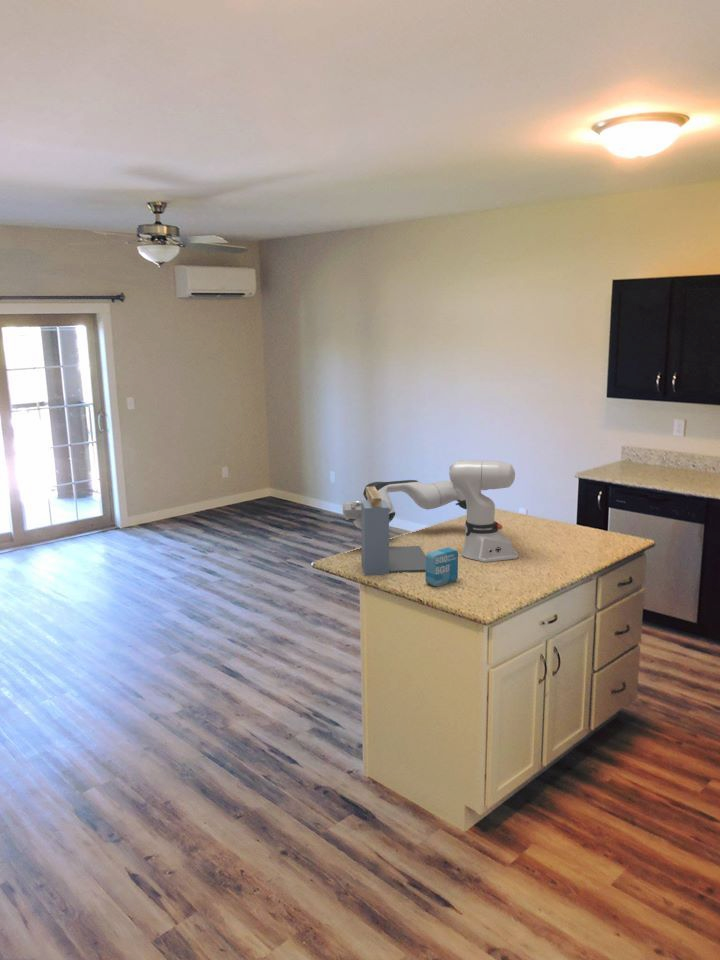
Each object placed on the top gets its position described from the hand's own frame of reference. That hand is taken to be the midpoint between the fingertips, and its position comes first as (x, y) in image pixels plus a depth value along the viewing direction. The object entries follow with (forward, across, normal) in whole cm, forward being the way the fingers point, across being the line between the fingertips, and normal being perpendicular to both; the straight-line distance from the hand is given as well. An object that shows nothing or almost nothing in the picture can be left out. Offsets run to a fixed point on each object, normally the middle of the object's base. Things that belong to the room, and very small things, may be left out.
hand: (368, 502), depth 300 cm
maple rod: (+14, 0, -4) cm, 15 cm away
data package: (+19, -23, -37) cm, 47 cm away
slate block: (+5, 0, -28) cm, 29 cm away
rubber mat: (-4, -14, -23) cm, 27 cm away
